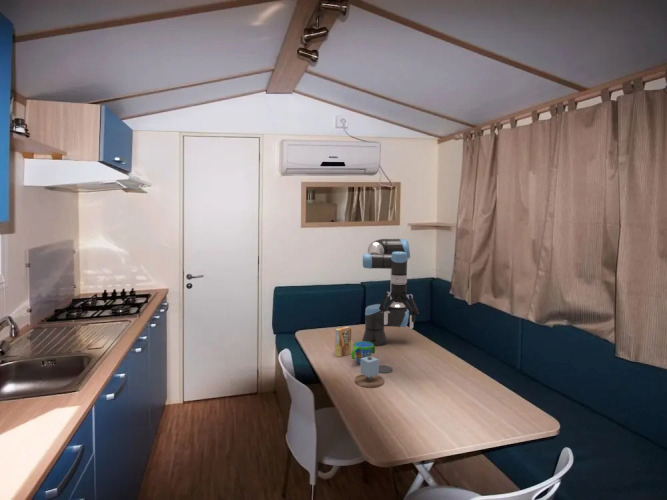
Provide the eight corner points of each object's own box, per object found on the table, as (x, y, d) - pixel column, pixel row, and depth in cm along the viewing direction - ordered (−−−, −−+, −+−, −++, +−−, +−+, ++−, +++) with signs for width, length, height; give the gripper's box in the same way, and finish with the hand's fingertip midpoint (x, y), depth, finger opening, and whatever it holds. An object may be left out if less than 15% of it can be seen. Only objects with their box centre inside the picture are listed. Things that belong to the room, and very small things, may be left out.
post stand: (348, 379, 192) (349, 360, 191) (371, 373, 200) (371, 354, 199) (367, 390, 180) (367, 369, 180) (390, 383, 188) (390, 362, 187)
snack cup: (368, 356, 223) (368, 339, 223) (380, 362, 215) (381, 344, 214) (345, 362, 215) (345, 344, 214) (357, 368, 206) (357, 349, 205)
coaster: (371, 369, 206) (371, 367, 205) (384, 365, 211) (384, 364, 210) (382, 374, 198) (382, 373, 198) (396, 370, 203) (396, 369, 203)
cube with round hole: (360, 373, 191) (360, 356, 190) (370, 370, 194) (370, 353, 193) (368, 377, 186) (368, 360, 185) (378, 374, 189) (378, 357, 188)
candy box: (346, 351, 231) (346, 326, 230) (351, 353, 228) (351, 327, 227) (334, 355, 226) (334, 328, 224) (339, 357, 222) (339, 330, 221)
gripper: (372, 282, 198) (372, 324, 199) (420, 286, 184) (419, 331, 186) (379, 280, 204) (379, 321, 205) (426, 284, 190) (425, 328, 192)
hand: (398, 326), depth 196 cm, fingers open, 13 cm apart
